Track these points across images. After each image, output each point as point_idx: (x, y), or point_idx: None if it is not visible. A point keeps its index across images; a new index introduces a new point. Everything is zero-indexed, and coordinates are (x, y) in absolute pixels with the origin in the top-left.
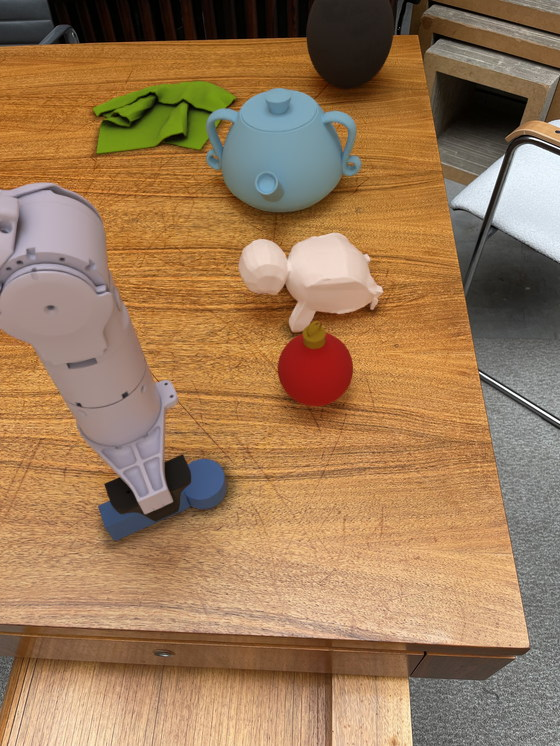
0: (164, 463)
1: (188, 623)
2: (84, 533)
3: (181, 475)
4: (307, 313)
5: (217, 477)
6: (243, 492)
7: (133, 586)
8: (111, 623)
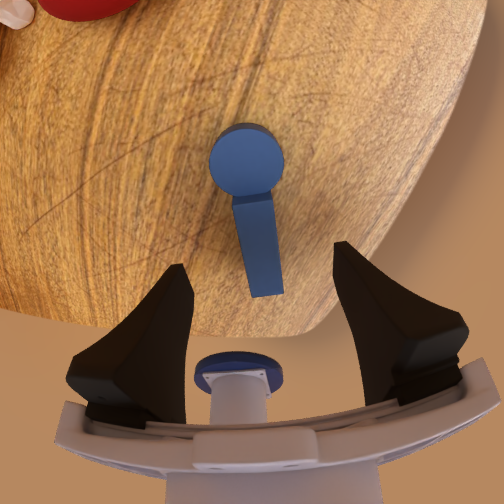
0: (453, 407)
1: (395, 212)
2: None
3: (453, 342)
4: (14, 4)
5: (252, 140)
6: (270, 103)
7: None
8: None
